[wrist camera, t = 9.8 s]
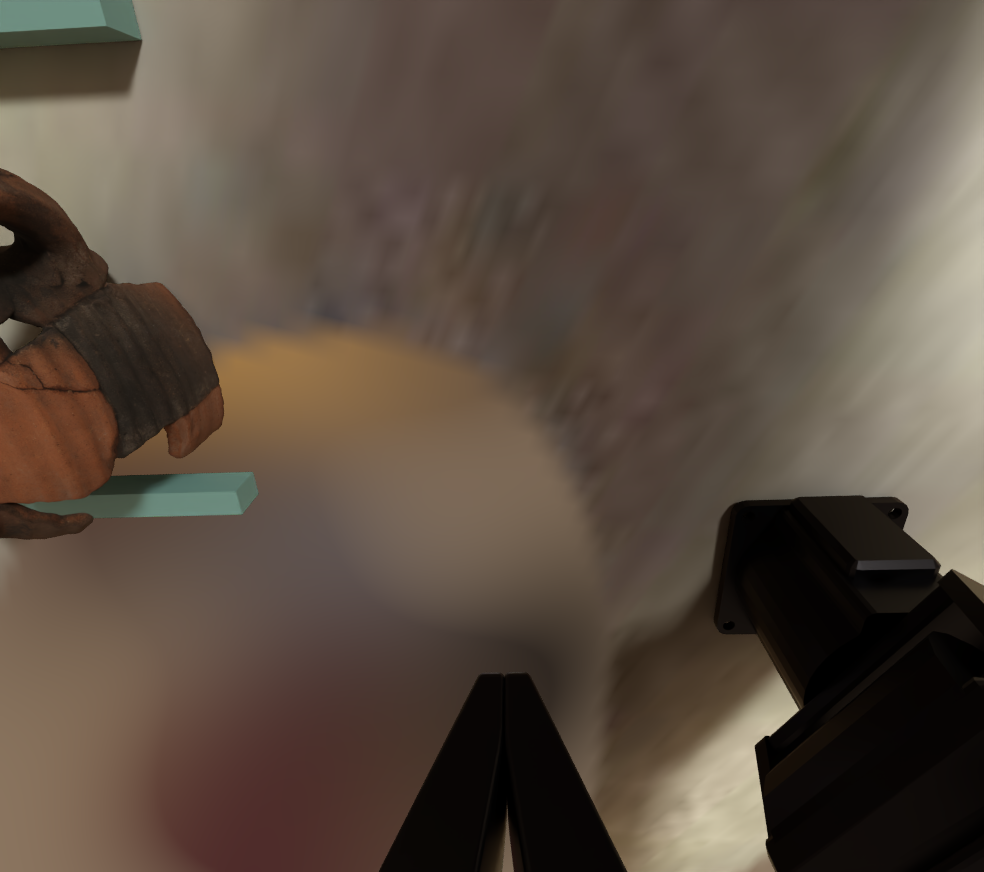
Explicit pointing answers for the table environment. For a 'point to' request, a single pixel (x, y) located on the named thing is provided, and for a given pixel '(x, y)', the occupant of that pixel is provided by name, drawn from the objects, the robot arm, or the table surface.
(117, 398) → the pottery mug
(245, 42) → the table surface
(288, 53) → the table surface
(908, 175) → the table surface
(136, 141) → the table surface
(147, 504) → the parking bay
